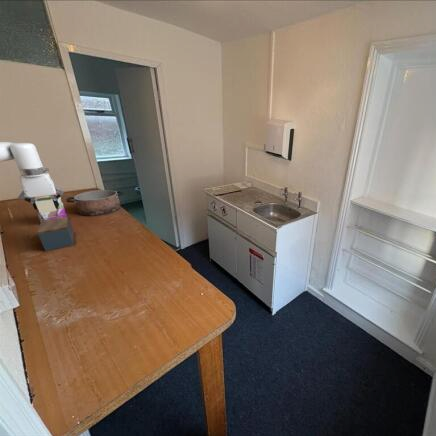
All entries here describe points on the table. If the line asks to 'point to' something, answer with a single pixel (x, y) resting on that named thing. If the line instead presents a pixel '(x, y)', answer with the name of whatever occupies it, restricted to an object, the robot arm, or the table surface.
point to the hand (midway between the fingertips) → (48, 208)
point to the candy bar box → (54, 214)
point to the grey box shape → (56, 233)
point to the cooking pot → (97, 202)
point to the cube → (45, 205)
